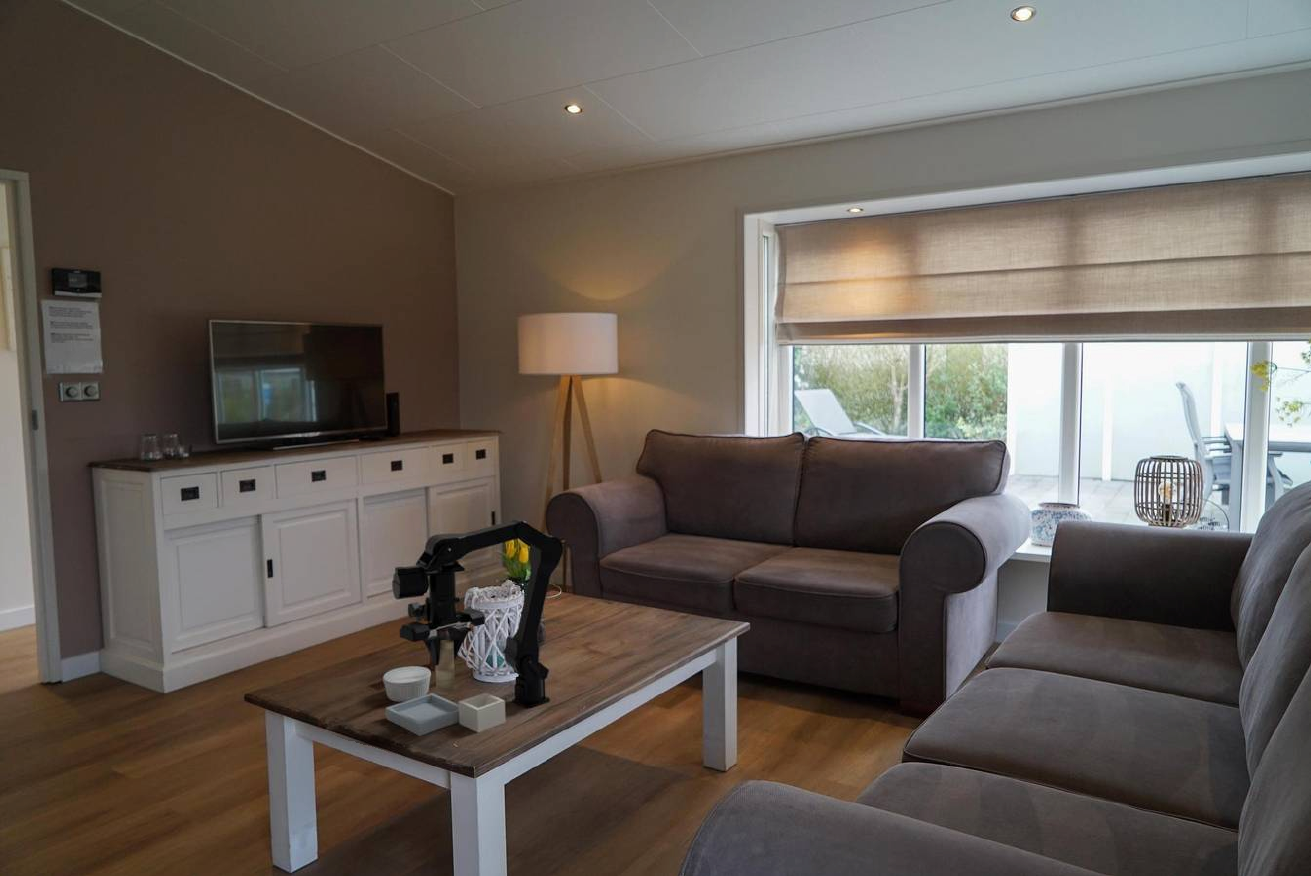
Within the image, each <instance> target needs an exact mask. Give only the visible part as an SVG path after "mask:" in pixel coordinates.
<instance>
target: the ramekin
mask: <svg viewBox="0 0 1311 876" xmlns="http://www.w3.org/2000/svg"><path fill="white" fill-rule="evenodd" d="M431 676H432V673H431V670H430V669H429V668H428V667H424V666H416V665H415V666H413V665H412V666H403V667H398V668H394V669H391V670H388V671H387V672H386V673H384V675H383V677H382V681H383V684H384V688H385V689H384V690H385V692H386V693H385V694H386V695H387V698H388V699H389V700H390V701H393V702H399V703H403V702H406V701H409V700H412V699H415V698H419V697H422V696H425V695H428V692H429V689H430V681H431V680H430V679H431Z"/></svg>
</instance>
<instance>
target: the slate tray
mask: <svg viewBox="0 0 1311 876" xmlns="http://www.w3.org/2000/svg"><path fill="white" fill-rule="evenodd" d="M385 719H386V720H388V721H390V722H391V723H394V724H395V725H398V726H399V727H401V728H403V729H406V730H407V731H409V730H410V731H409V732H411V733H413V734H415V735H416V736H419V737H421V736H424V735H426V734H428V733H432V732H434V731H438V730H440V729H443V728H445V727H448V726H451V725H455V724H458V723H459V704H457V703H456V702H453V701H451V700H449V699H446V698H445V697H443V696H440V695H439V694H437V693H436V694H435V693H434V692H431V693H427V694H426V695H425V696H422V697H419V698H415V699H412V700H409V701H406V702H399V703H397V704H394V705H391V706H387V707H385ZM437 729H438V730H437Z"/></svg>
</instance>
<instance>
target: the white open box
mask: <svg viewBox="0 0 1311 876" xmlns="http://www.w3.org/2000/svg"><path fill="white" fill-rule="evenodd" d="M458 705H459V722H458V723H459V725H461V726H463V727H466V728H468V729H469V730H472V731H474V732H476V733H481V732H484V731H487V730H489V729H492V728H495V727H497V726H499V725H500V726H501V725H503V724H505V723H507V721H506V700H505V699H502V698H500V697H497V696H494V695H493V694H490V693H488V692H483V693H480V694H477V695H474V696H471V697H469V698H466V699H465V698H464V699H462V700H459V701H458Z"/></svg>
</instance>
